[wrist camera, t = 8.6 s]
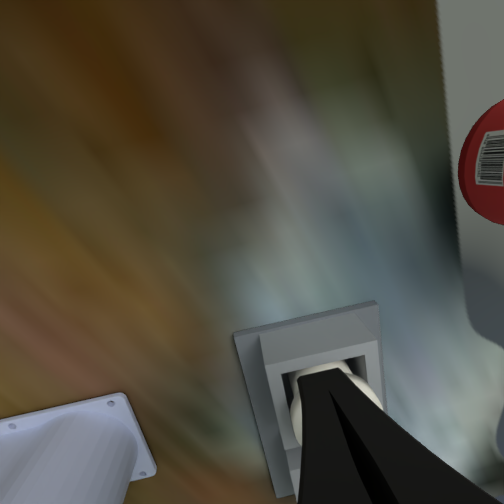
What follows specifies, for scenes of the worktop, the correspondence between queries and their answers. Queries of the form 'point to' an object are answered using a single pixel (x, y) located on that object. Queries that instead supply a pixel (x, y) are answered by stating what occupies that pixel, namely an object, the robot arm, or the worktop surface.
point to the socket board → (300, 357)
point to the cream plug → (294, 375)
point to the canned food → (484, 165)
